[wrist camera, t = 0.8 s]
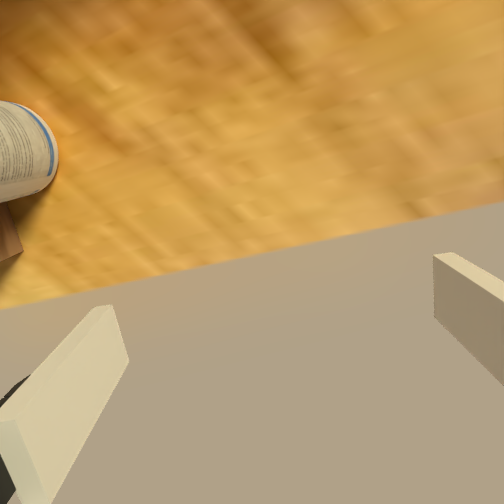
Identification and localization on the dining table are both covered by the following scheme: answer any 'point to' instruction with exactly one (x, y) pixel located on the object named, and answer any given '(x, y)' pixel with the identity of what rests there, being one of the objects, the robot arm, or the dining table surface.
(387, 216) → the dining table surface
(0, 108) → the supplement tub
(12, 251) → the marked cube
